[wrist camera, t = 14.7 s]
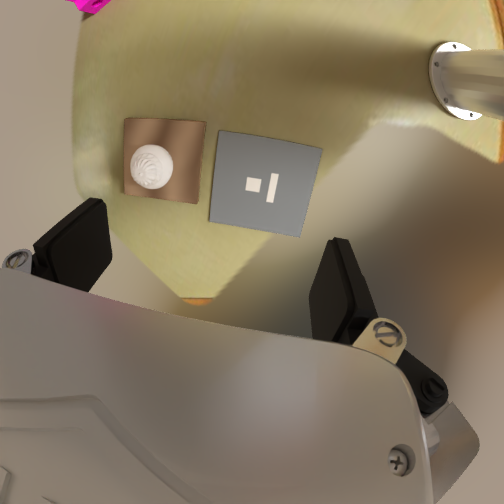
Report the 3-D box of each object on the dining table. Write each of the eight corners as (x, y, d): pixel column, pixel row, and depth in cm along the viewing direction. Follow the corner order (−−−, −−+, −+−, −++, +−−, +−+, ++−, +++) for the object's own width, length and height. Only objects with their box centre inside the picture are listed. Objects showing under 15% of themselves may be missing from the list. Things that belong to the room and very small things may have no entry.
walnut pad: (206, 121, 34) (204, 122, 33) (198, 201, 40) (196, 204, 39) (128, 117, 34) (124, 118, 33) (127, 191, 40) (124, 194, 39)
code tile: (322, 148, 35) (322, 149, 34) (299, 236, 42) (299, 237, 42) (219, 130, 34) (219, 130, 34) (209, 220, 42) (209, 221, 42)
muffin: (135, 150, 35) (110, 164, 30) (169, 132, 34) (148, 141, 28) (153, 186, 38) (132, 205, 32) (188, 170, 37) (171, 187, 31)
